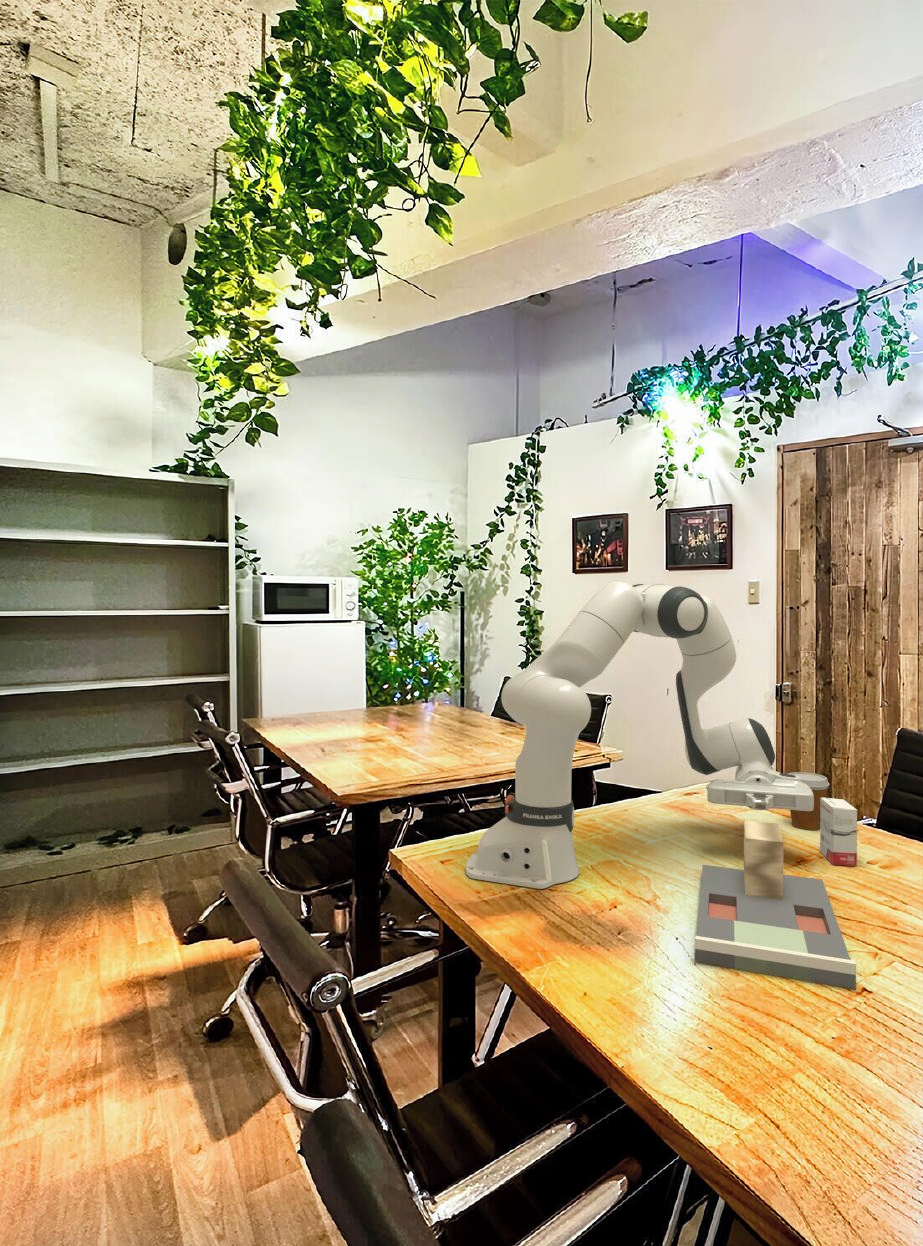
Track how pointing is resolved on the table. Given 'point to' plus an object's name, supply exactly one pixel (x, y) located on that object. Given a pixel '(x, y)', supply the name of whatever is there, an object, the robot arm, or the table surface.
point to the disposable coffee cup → (819, 789)
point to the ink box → (838, 831)
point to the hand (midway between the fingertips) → (760, 805)
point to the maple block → (763, 859)
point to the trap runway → (771, 929)
